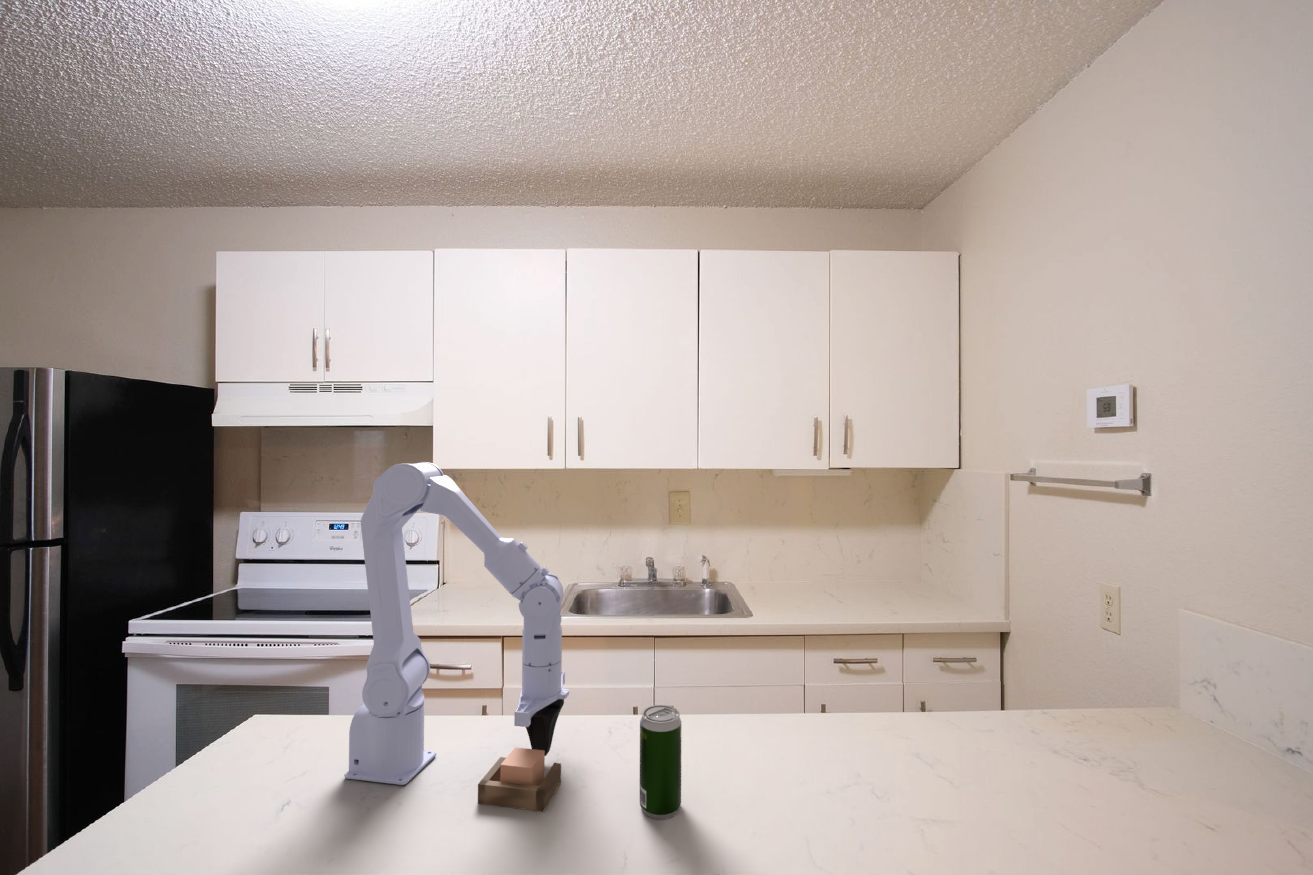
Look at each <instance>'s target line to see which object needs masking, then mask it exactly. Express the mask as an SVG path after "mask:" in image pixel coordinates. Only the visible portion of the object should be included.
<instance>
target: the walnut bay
mask: <svg viewBox="0 0 1313 875" xmlns="http://www.w3.org/2000/svg"><path fill="white" fill-rule="evenodd" d="M506 758H507V757H503V756H500V757H499V758H498V759H497V761H495V763H494V764H493V765H492V766H491V768H490V769H489V770H488V771H487V772H486V774H485V775H484V776H483V778H482V779H480V781H479V782H478V784H477V804H480V805H487V806H495V807H505V808H513V809H520V810H529V811H536V812H537V811H538V812H544V811H545V810H546V808H547V806H548V805H549V803H550V802H551V800H552V798H553V796H554V794H555V792H557V789H558V787H559V786H560V784H561V782H562V763H561V762H560V763H558V762H554V763H553V764H552V766H551V768H550V769H549V770H548V772H547V773H546V775H544V779H543V781H542V783H541V784H540V786H534V785H525V784H516V783H508V782H500V775H501V763H502V762H503V761H504V760H505V759H506Z"/></svg>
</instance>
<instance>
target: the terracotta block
mask: <svg viewBox="0 0 1313 875" xmlns="http://www.w3.org/2000/svg"><path fill="white" fill-rule="evenodd" d="M545 757H546V756H545V751H544V750H535V749H532V748H525V747H524V748H523V747H516V746H515V747H514V748H513V749H512V750H511V751H510V753H509V754H508V755H507V757H505V758H506V759H505V760H504V761H503V762H502V763H501V775H500V782H508V783H516V784H525V785H534V786H540V784H541V783H542V781H543V779H544V778H545V767H546V765H545V762H546V761H545Z"/></svg>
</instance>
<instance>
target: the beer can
mask: <svg viewBox="0 0 1313 875" xmlns="http://www.w3.org/2000/svg"><path fill="white" fill-rule="evenodd" d="M680 715H681V714H680V711H679V710H678V709H677V708H676V707H674V706H670V705H666V704H655V705H650V706H647V707H646V708H644V709H643V710H642V712H641V717H640V720H639V806H640V808H641V811H642V813H643V814H644V815H645V816H647V817H649V818H651V819H653V820H667V819H671V818H673V817H674V816H675V815H677V813H678V812H679V809H681V805H682V720H681V718H680Z"/></svg>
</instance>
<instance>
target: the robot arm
mask: <svg viewBox="0 0 1313 875" xmlns="http://www.w3.org/2000/svg"><path fill="white" fill-rule="evenodd" d="M417 511H420V512H424V513H429V514H433V515H434V514H435V515H440V516H444V517H446V518H447V519H448V520H449V521H450V522H451V523H452V524H453V525H454V526H455V527H457V529H458V530H460V532H461V533H463V534H464V536H465V537H467V538H468V539H469V540H470V541H471V542H472V543H473V544H474V545H475V546H476V547H477V548H478V549H479V550H480V551H481V552H483V556H484V561H483V562H484V563H483V565H484V568H486V570H488V572H489V573H490V574H491V575H492V576H493V577H494V578H495V579H496V581H498V583H500V585H501V586H503V588H504V589H505V590H506V591H507V592H508V593H509V594H510V595H511V596H512V597H513V598H515V599H516V600H518V601H520V602H519V603H518V609H519V612H520V614H521V615H522V617H523V628H522V637H521V638H522V640H521V641H522V642H521V643H522V646H521V648H522V649H521V652H522V654H521V655H522V656H521V658H522V659H521V665H522V666H521V668H522V669H521V675H522V676H521V690H520V694H519V699H518V706H517V708H516V710H515V711H514V713H513V714H514V721H513V722H514V723H513V724H514V725H513V726H514V727H524V728H525V729H526V732H527V735H528V738H529V742H530V746H531V748H530V749H535V750H544V751H545V757H546V756H548V754H549V752H550V750H551V747H552V742H553V738H554V734H555V733H554V732H555V729H556V725H557V721H558V718H559V715H560V713H561V711H562V709H563V706H564V704H565V699H567V698H568V697H569V695H570V689H568V688H564V685H565V683H566V671H565V670H564V671H563V670H562V669H563V668H562V667H563V666H562V664H563V663H562V662H563V661H562V658H563V657H562V656H563V651H562V650H563V645H562V644H563V643H562V642H563V636H562V635H563V628H562V625H561V623H562V614H561V607H562V602H563V599H564V588H563V587H564V586H563V585H562V583H561V581H560V580H559V578H558V575H555V574H553V573H550V570H549V569H548V568H547V567H546V566H544V567H542V566H541V564H539V563H538V562H537V561H536V560H535V559H534V558H533V556H532V555H531V554H530V553H529V552H527V550H528V548H529V546H528V545H527V544H526V543H525V542H524V541H521V542H520V543H519V542H518V540H516V539H515V538H510V537H509V538H507V537H502V536H501V535H500V534H499V532H497V530H496V529H495V528H494V527H493V526H492V524H491V523H490V522H489V521H488V520H487V518H485V516H484V515H483V514H482V513H481V512H480V511H479V509H478V508H477V507H476V506H475V505H474V504H473V502H472V501H471V499H469V497H467V495H466V494H465V493H464V492H463V491H462V490H461V488H460V487H459V486H458V485H457V484H456V482H455V481H454V480H453V479H452V478H451V477H450V476H448V475H446V474H444V472H443V470H442V469H441V468H440V467H439V466H438V465H436V464H434V463H433V462H428V461H420V462H417V463H405V462H404V463H396V464H394V465H392V466H390V467H388V468H387V469H386V470H385V471H384V472H383V473H381V475H380V476H379V477H377V478H376V479H375V481H373V492H372V494H371V496H370V498H369V501H368V503H367V504H366V506H365V510H364V512H363V513H362V516H361V519H360V528H361V530H360V531H361V538H362V539H361V540H362V549H363V556H364V558H363V559H364V566H365V576H366V583H367V593H368V602H369V603H368V604H369V611H370V620H371V628H372V629H371V630H372V638H373V645H372V649H371V651H370V654H369V657H368V660H367V662H366V666H365V667H366V680H365V682H364V685H363V687H362V690H361V691H362V694H361V695H362V696H361V697H362V701H363V704H362V705H360V706H359V707H358V709H357V710H356V712H355V713H354V714H353V717H352V719H351V723H350V726H349V732H348V733H349V734H348V737H349V738H348V739H349V743H348V771H346V773H345V774H344V778H345V779H350V780H358V781H363V782H364V781H367V782H373V783H381V784H382V783H383V784H389V785H390V784H392V785H400V786H404V785H407V784H408V783H409V782H410V781H411V780H412V779H413V778H414V777H415V776H417V774H418V773H419V772H420V771H422V770H423V768H425V767H426V766H427V765H428V764H429V763H430V762H431V761H432V760H433V759H434V758H435V757H436V756H437V752H436V751H434V750H425V694H424V692H423V685H424V683H425V682H426V681H427V679H428V678H429V675H430V673H431V672H430V671H431V664H430V660H429V658H428V657H427V656H426V654H425V652H424V650H423V647H422V641H421V638H420V637H419V635H417V634H416V633H415V632H414V626H413V625H414V624H413V618H412V616H413V615H412V607H411V596H410V589H409V588H410V587H409V582H408V580H409V579H408V570H407V562H406V561H407V560H406V551H405V545H404V544H405V543H404V535H403V528H404V526H405V525H406V524H407V523H408V521H409V520H410V519H412V517H413V516H414V515H415V514H417Z"/></svg>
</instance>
